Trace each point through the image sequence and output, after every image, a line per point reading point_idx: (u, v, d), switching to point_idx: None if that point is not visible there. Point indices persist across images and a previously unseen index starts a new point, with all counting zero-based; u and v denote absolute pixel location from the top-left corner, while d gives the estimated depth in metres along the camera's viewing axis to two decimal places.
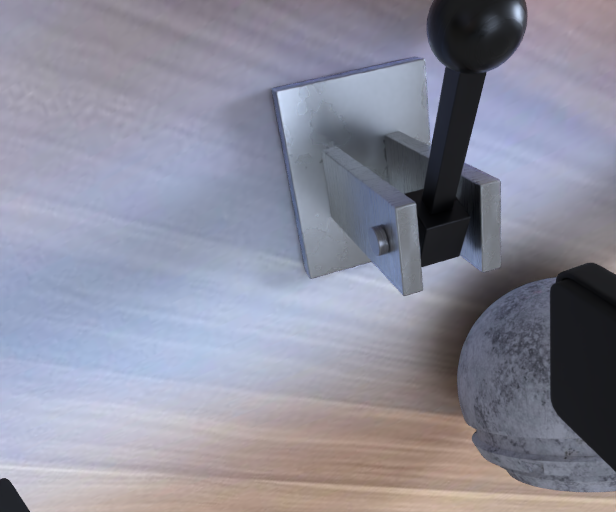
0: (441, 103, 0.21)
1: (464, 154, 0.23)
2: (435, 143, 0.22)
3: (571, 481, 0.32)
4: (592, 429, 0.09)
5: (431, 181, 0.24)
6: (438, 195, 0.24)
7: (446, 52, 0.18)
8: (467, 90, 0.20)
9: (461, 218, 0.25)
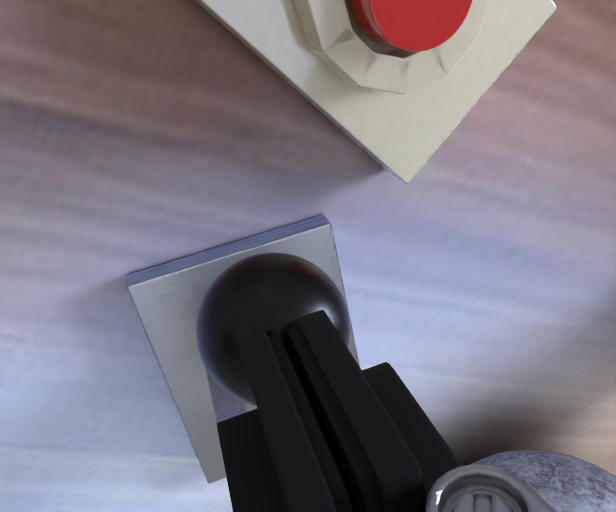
0: None
1: None
2: None
3: None
4: None
5: None
6: None
7: (221, 387, 0.11)
8: None
9: None
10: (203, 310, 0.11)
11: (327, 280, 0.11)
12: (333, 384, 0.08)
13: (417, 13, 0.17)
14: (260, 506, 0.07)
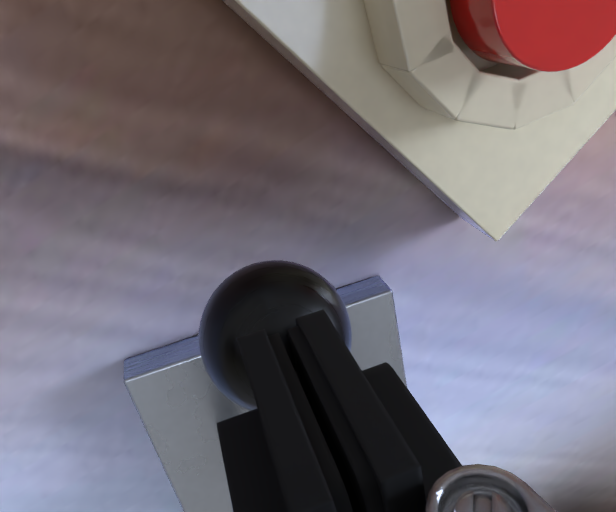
0: None
1: None
2: None
3: None
4: None
5: None
6: None
7: (218, 382, 0.11)
8: None
9: None
10: (204, 309, 0.12)
11: (319, 274, 0.12)
12: (333, 384, 0.08)
13: (559, 15, 0.12)
14: (260, 506, 0.07)
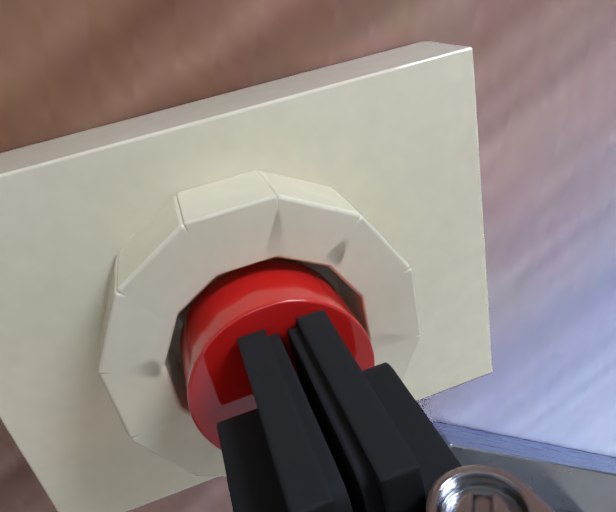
0: None
1: None
2: None
3: None
4: None
5: None
6: None
7: None
8: None
9: None
10: None
11: None
12: (333, 384, 0.08)
13: None
14: (260, 506, 0.07)
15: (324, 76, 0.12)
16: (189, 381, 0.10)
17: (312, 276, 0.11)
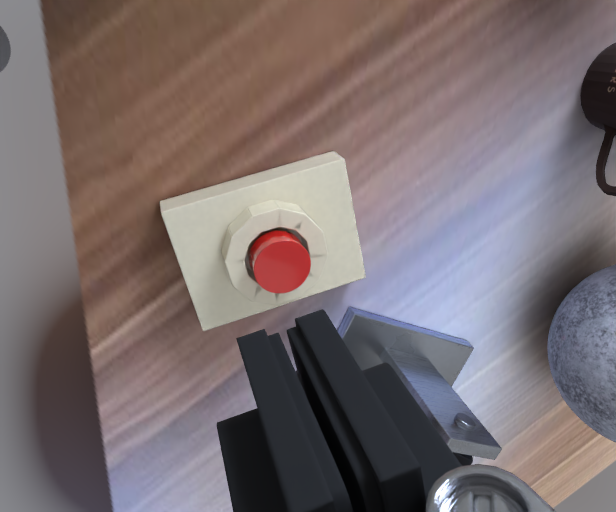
0: None
1: None
2: None
3: None
4: None
5: None
6: None
7: None
8: None
9: None
10: None
11: None
12: (333, 384, 0.08)
13: (290, 274, 0.34)
14: (260, 506, 0.07)
15: (295, 167, 0.36)
16: (254, 264, 0.33)
17: (291, 235, 0.35)
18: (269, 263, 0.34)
